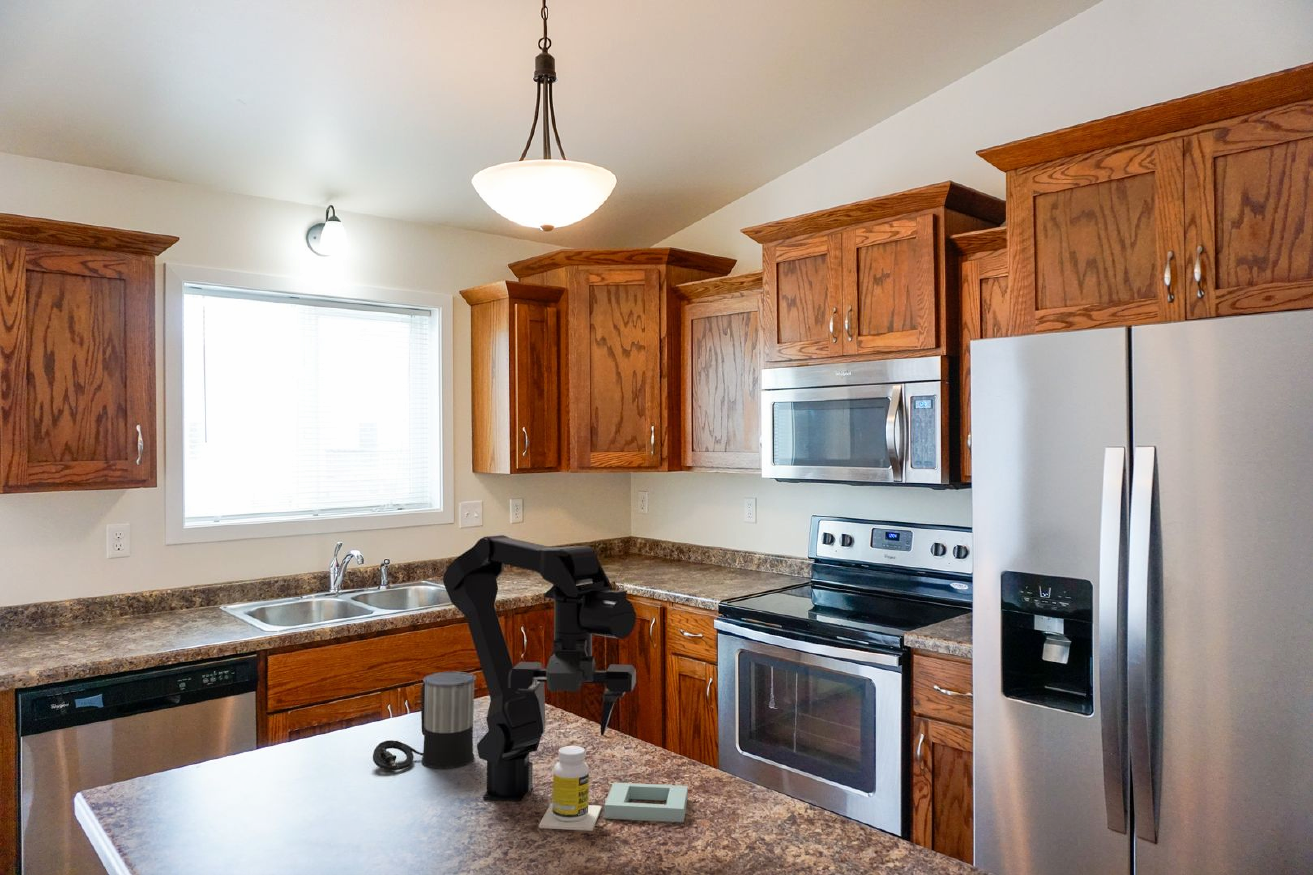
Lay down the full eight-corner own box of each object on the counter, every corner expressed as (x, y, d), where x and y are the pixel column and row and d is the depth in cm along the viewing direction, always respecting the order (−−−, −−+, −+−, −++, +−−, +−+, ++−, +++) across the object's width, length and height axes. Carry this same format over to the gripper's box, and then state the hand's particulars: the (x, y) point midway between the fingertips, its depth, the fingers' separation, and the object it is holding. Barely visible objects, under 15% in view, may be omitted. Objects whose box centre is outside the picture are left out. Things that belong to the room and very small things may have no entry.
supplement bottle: (582, 824, 126) (583, 757, 126) (547, 820, 127) (548, 754, 128) (592, 809, 132) (593, 745, 132) (559, 806, 133) (559, 742, 133)
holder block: (604, 818, 129) (604, 804, 129) (613, 794, 138) (613, 782, 138) (683, 822, 128) (683, 808, 128) (687, 798, 137) (687, 785, 137)
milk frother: (485, 758, 155) (486, 675, 155) (418, 786, 141) (419, 695, 142) (430, 743, 162) (432, 664, 163) (361, 768, 149) (363, 682, 150)
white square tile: (538, 827, 126) (538, 824, 126) (550, 805, 134) (550, 803, 134) (592, 830, 125) (592, 827, 125) (601, 808, 133) (601, 805, 133)
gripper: (497, 639, 123) (497, 749, 123) (626, 642, 121) (626, 754, 121) (518, 624, 134) (517, 725, 134) (636, 627, 132) (636, 729, 132)
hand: (572, 733), depth 130 cm, fingers open, 9 cm apart
